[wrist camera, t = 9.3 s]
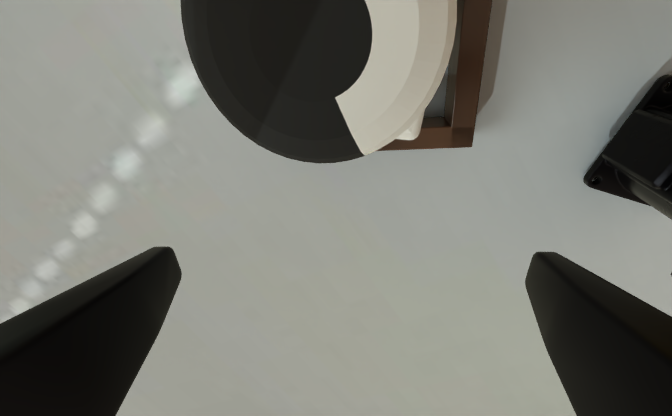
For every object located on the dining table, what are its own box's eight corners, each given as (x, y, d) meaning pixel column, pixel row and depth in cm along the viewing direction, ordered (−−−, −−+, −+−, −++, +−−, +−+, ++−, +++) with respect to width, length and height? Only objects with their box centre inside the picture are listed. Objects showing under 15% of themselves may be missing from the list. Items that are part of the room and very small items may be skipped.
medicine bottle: (278, 89, 19) (169, 179, 9) (276, -71, 15) (82, -251, 5) (402, 101, 19) (444, 208, 8) (431, -58, 15) (568, -223, 5)
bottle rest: (499, -167, 13) (519, -194, 11) (463, 135, 19) (472, 147, 18) (253, -131, 14) (237, -152, 13) (293, 143, 20) (286, 154, 19)
